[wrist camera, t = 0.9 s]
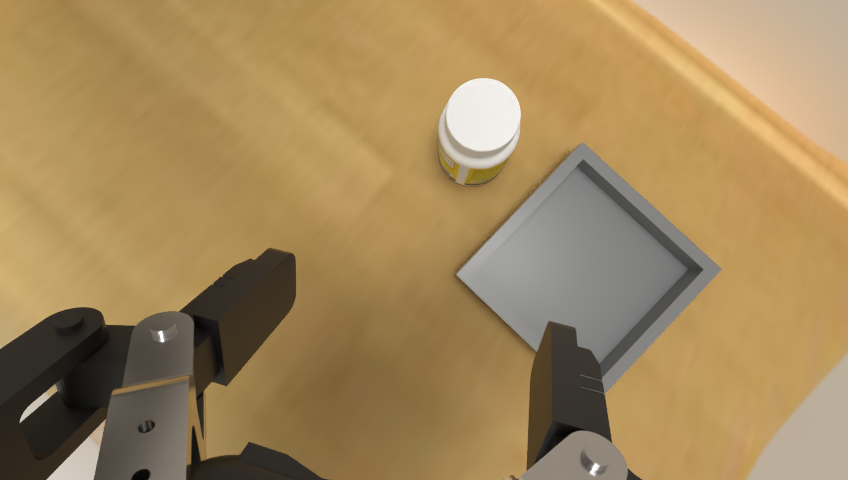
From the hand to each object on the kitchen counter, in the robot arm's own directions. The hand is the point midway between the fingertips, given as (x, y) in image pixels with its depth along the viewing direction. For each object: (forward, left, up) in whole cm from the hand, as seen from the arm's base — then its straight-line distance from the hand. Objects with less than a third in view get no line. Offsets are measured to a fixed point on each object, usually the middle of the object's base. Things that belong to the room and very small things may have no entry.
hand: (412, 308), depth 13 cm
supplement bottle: (-4, +9, -18) cm, 20 cm away
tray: (+7, +8, -18) cm, 20 cm away
